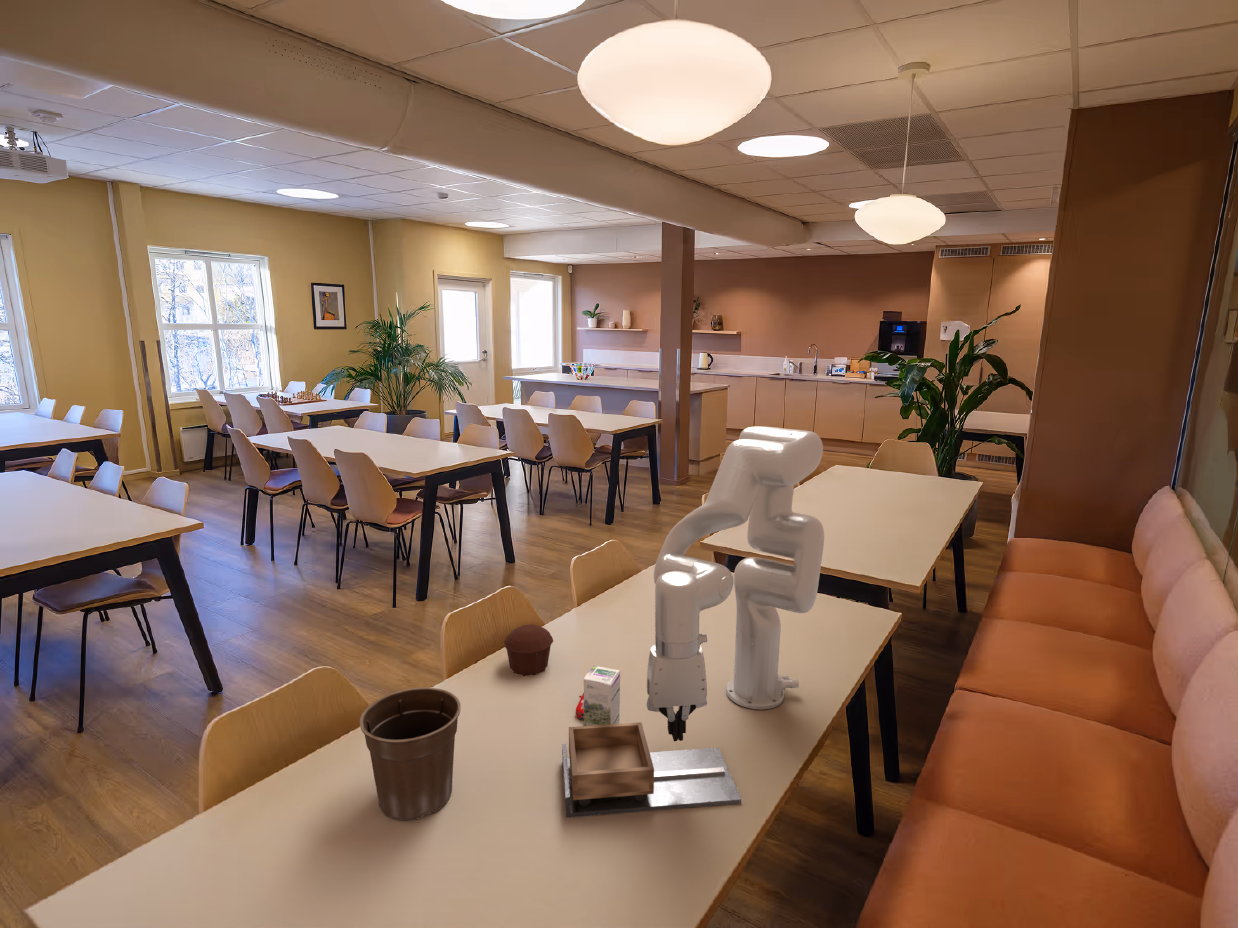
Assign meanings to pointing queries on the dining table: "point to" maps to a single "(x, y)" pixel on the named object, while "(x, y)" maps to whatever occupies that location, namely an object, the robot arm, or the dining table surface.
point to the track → (666, 785)
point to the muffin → (528, 649)
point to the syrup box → (601, 696)
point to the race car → (580, 708)
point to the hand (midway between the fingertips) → (676, 736)
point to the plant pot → (412, 750)
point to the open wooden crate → (610, 762)
